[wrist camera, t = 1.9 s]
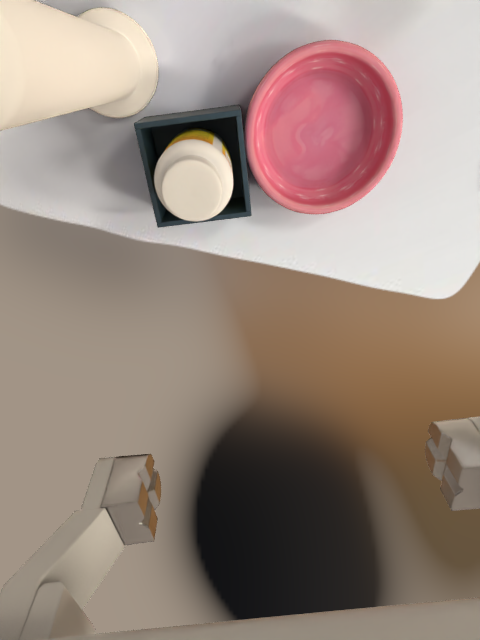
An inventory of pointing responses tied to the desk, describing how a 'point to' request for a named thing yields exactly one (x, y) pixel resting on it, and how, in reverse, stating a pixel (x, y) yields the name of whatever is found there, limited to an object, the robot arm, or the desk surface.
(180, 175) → the supplement bottle
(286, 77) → the saucer
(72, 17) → the candle
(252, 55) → the desk surface
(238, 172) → the tub
